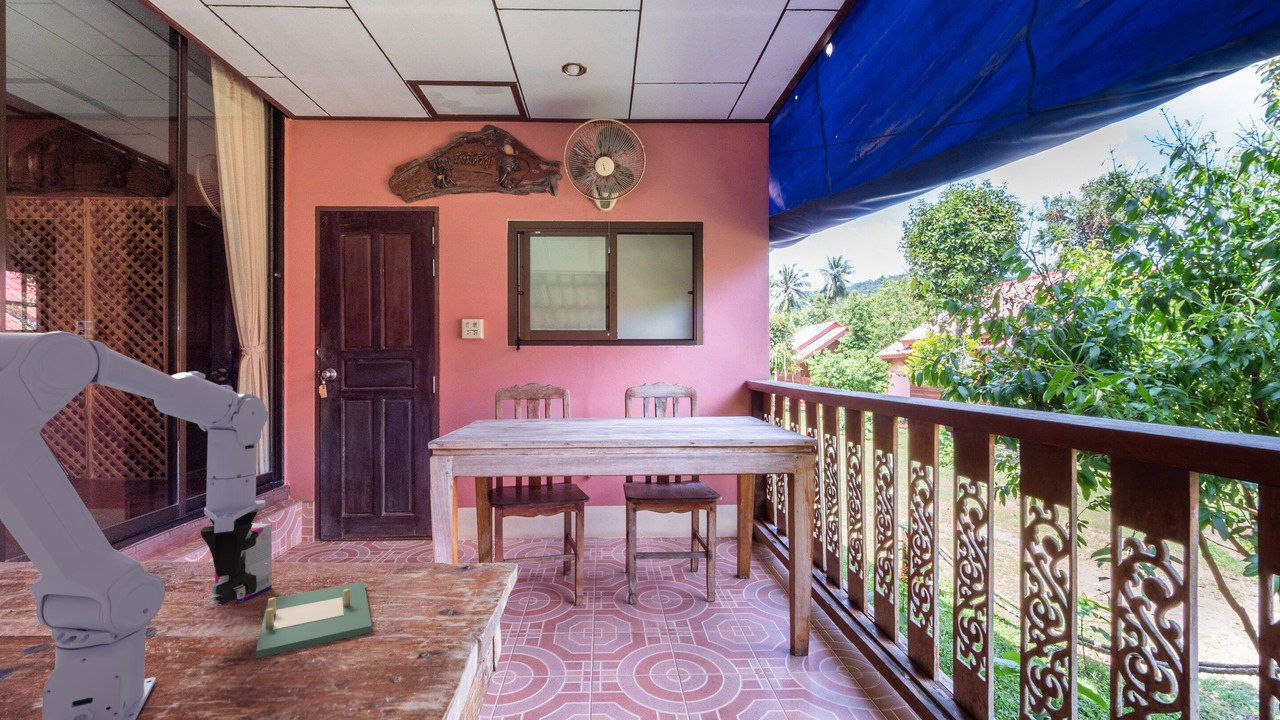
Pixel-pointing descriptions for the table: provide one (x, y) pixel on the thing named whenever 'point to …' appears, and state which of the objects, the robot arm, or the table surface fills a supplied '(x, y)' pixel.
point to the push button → (236, 577)
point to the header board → (313, 618)
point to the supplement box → (259, 560)
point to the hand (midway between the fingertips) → (230, 567)
